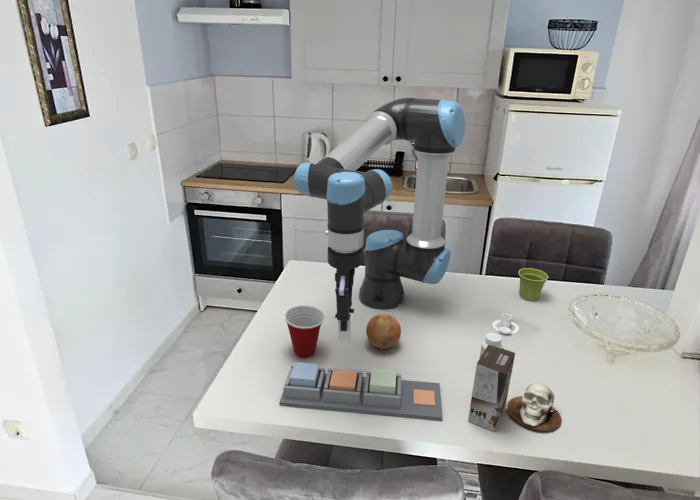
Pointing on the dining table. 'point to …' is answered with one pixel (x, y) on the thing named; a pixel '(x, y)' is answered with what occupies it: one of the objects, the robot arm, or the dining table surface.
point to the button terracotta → (343, 380)
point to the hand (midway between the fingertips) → (344, 339)
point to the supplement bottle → (491, 342)
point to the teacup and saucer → (505, 325)
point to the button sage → (383, 382)
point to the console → (367, 397)
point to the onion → (383, 331)
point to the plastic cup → (304, 328)
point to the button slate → (304, 375)
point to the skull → (535, 408)
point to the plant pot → (531, 283)
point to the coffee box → (491, 387)
